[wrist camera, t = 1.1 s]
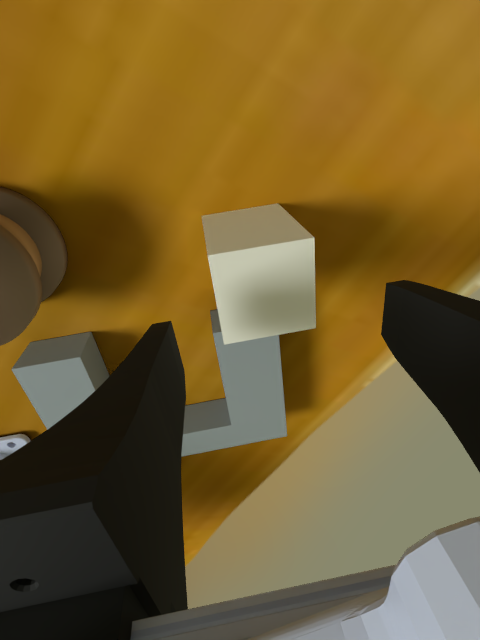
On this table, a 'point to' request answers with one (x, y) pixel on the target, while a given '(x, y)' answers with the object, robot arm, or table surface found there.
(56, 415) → the notched board
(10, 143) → the table surface
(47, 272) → the brown knob
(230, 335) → the block
